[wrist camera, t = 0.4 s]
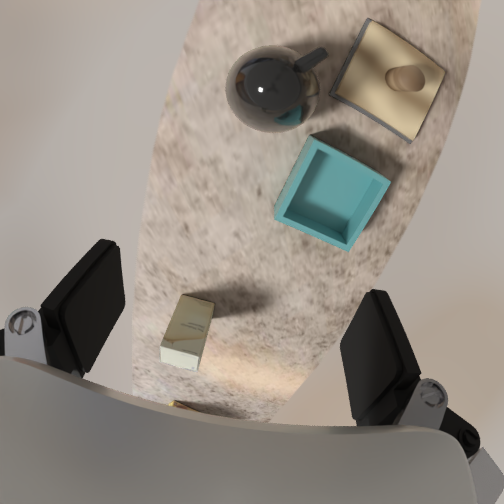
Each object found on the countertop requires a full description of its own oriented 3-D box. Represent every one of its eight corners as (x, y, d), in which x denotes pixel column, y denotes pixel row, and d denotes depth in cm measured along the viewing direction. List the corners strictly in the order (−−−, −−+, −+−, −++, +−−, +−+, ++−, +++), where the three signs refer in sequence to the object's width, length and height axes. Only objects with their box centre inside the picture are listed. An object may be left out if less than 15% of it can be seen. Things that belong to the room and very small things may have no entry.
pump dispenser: (330, 99, 31) (369, 101, 18) (265, 144, 35) (261, 173, 22) (280, 38, 28) (286, -1, 14) (215, 85, 31) (178, 77, 18)
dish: (309, 134, 34) (314, 139, 30) (379, 172, 35) (391, 181, 32) (274, 206, 39) (274, 219, 35) (341, 236, 41) (348, 252, 37)
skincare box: (215, 302, 49) (201, 356, 38) (211, 320, 51) (198, 373, 40) (180, 293, 48) (159, 345, 38) (178, 311, 50) (159, 363, 40)
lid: (369, 22, 25) (386, 10, 19) (441, 72, 26) (465, 71, 21) (334, 93, 30) (347, 92, 25) (409, 139, 32) (431, 147, 27)
